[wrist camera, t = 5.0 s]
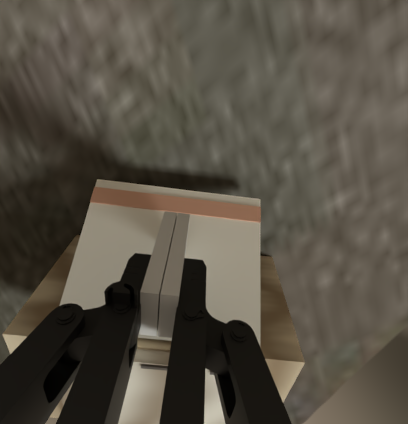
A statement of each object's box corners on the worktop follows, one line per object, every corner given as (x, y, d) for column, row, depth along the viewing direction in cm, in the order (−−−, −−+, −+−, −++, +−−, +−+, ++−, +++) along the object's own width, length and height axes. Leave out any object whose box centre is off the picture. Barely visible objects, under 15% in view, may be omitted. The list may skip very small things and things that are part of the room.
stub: (57, 329, 16) (51, 329, 15) (100, 184, 20) (96, 178, 19) (256, 348, 17) (260, 349, 16) (257, 203, 21) (260, 198, 20)
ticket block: (86, 309, 29) (27, 430, 20) (76, 234, 24) (-9, 348, 15) (249, 325, 30) (267, 449, 21) (272, 256, 25) (309, 378, 16)
